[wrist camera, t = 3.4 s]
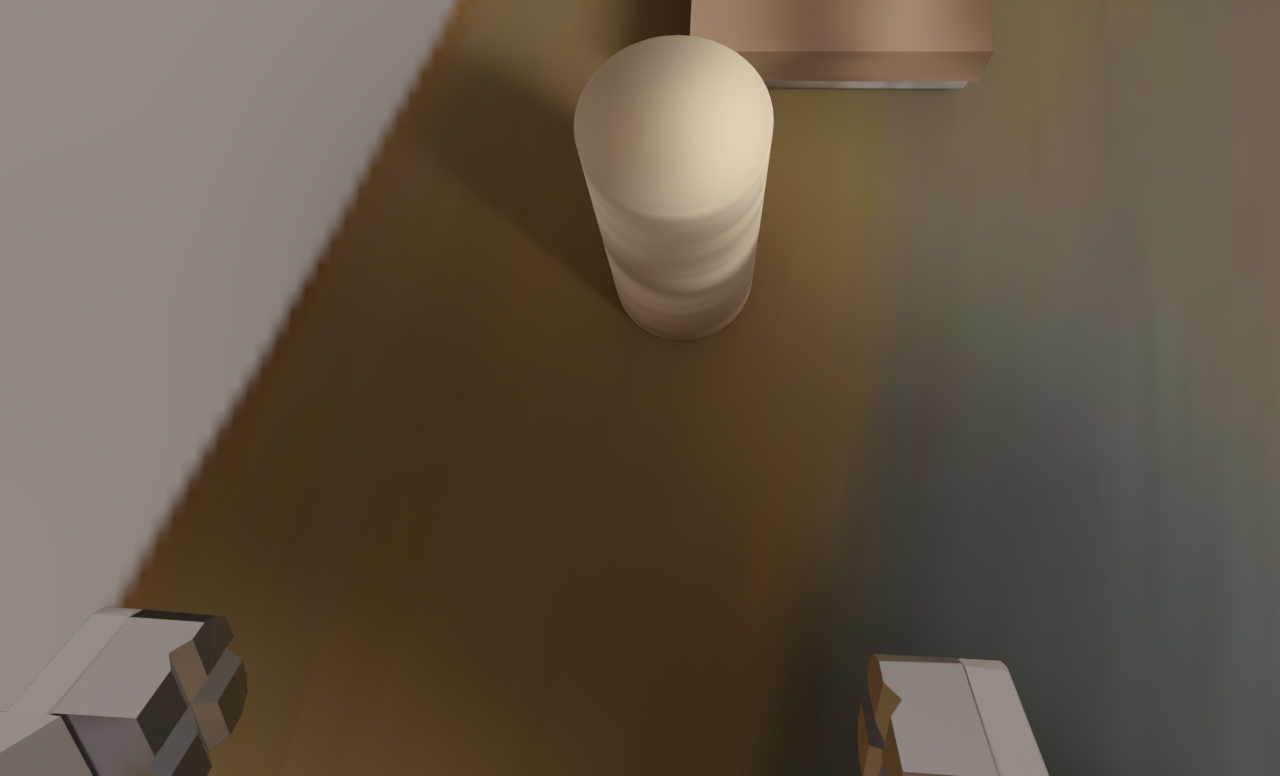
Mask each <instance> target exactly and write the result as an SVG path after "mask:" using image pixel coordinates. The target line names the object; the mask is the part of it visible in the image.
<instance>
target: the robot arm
mask: <svg viewBox="0 0 1280 776" xmlns="http://www.w3.org/2000/svg"><path fill="white" fill-rule="evenodd" d="M233 636H234V635H233V633H232V631H231V628H230V626H229V623H228V621H227V619H226V618H225V617H220V616H215V615H204V614H193V613H181V612H170V611H158V610H147V609H143V610H142V609H129V608H117V607H105V608H103V609H101V610H99V611H97V612H95V613H93V614H92V615H91V616H90V617H89V618H88V619H87V620H86V622H85V623H84V624H83V625H82V626H81V627H80V628H79V630H78V631H77V632H76V633H75V634H74V635H73V636H72V638H71V639H70V640H69V641H68V642H67V643H66V644H65V646H64V647H63V648H62V649H61V650H60V651H59V652H58V654H57V655H56V656H55V657H54V658H53V659H52V660H51V662H50V663H49V664H48V665H47V666H46V667H45V668H44V670H43V671H42V672H41V673H40V674H39V675H38V676H37V678H36V679H35V680H34V681H33V682H32V683H31V684H30V686H29V687H28V688H27V689H26V690H25V691H24V692H23V694H22V695H21V696H20V697H19V698H18V699H17V701H16V702H15V703H14V704H13V705H12V706H11V707H10V708H9V710H8V711H7V712H2V711H1V712H0V776H207V774H208V773H209V771H210V769H211V768H212V766H211V759H210V753H209V750H210V749H212V748H213V747H214V746H216V745H217V744H219V743H220V742H221V741H223V740H224V739H226V738H227V737H229V736H230V735H231V733H232V731H233V729H234V727H235V726H236V724H237V722H238V720H239V718H240V716H241V714H242V711H243V707H244V703H245V699H246V695H247V692H248V690H247V673H246V670H245V667H244V664H243V661H242V660H241V659H240V658H239V657H238V656H236V655H235V654H234V653H233V652H232V651H230V650H229V649H228V648H227V646H228V644H229V643H230V641H231V640H232V638H233ZM866 676H867V681H868V687H869V692H870V694H869V695H867V696H866V697H865V698H863V699H862V700H861V705H860V711H859V718H858V752H859V762H860V769H861V775H862V776H1049V774H1048V771H1047V769H1046V766H1045V764H1044V761H1043V758H1042V756H1041V753H1040V751H1039V748H1038V745H1037V743H1036V740H1035V738H1034V735H1033V732H1032V730H1031V727H1030V725H1029V722H1028V719H1027V717H1026V714H1025V712H1024V709H1023V706H1022V704H1021V701H1020V699H1019V696H1018V693H1017V691H1016V688H1015V686H1014V683H1013V680H1012V678H1011V675H1010V673H1009V670H1008V668H1007V667H1006V666H1005V665H1004V664H1003V663H1002V661H995V660H977V659H955V658H948V657H927V656H906V655H886V654H873V656H872V657H871V659H870V661H869V665H868V670H867V675H866Z"/></svg>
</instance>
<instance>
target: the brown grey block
mask: <svg viewBox="0 0 1280 776" xmlns="http://www.w3.org/2000/svg"><path fill="white" fill-rule="evenodd" d="M690 36H695V37H701V38H705V39H708V40H712V41H715V42H717V43H720V44H722V45H724V46H726V47H728V48H730V49H731V50H733V51H735V52H737V53H738V54H739V55H740V56H742V57H743V58H744V59H746V60H747V61H748V62H749V63H750V64H751V65H752V66H753V67H754V69H755V70H756V71H757V73H758V74H759V75H760V77H761V78H762V80H763V82H764V84H765V85H766V87H767V88H898V89H962V88H964V87H965V85H966V84H967V82H968V81H979V79H980V77H981V76H982V74H983V72H984V70H985V68H986V66H987V64H988V62H989V60H990V58H991V56H992V54H993V52H994V47H993V30H992V12H991V0H692V2H691V22H690Z"/></svg>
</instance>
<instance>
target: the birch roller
mask: <svg viewBox="0 0 1280 776" xmlns="http://www.w3.org/2000/svg"><path fill="white" fill-rule="evenodd" d="M773 124H774V117H773V107H772V102H771V98H770V95H769V92H768V90H767V87H766V85H765V84H764V82H763V80H762V78H761V77H760V75H759V74H758V73H757V71H756V70H755V69H754V67H753V66H752V65H751V64H750V63H749V62H748V61H747V60H746V59H744V58H743V57H742V56H740V55H739V54H738V53H737V52H735V51H733V50H731V49H730V48H728V47H726V46H724V45H722V44H720V43H717V42H715V41H712V40H708V39H705V38H701V37H695V36H686V35H669V36H660V37H655V38H650V39H647V40H643V41H640V42H637V43H635V44H633V45H630V46H628V47H626V48H624V49H623V50H621V51H619V52H617V53H616V54H614V55H613V56H612V57H610V58H609V59H608V60H606V61H605V62H604V63H603V64H602V65H601V66H600V67H599V68H598V69H597V70H596V71H595V73H594V74H593V75H592V76H591V77H590V79H589V80H588V82H587V84H586V85H585V87H584V89H583V91H582V93H581V95H580V97H579V100H578V103H577V107H576V111H575V117H574V136H575V143H576V147H577V150H578V154H579V158H580V161H581V165H582V168H583V172H584V175H585V179H586V182H587V186H588V190H589V193H590V197H591V200H592V204H593V207H594V211H595V215H596V218H597V222H598V225H599V229H600V232H601V236H602V240H603V243H604V247H605V250H606V254H607V257H608V261H609V264H610V268H611V272H612V275H613V279H614V282H615V286H616V289H617V293H618V296H619V300H620V302H621V304H622V306H623V308H624V310H625V311H626V313H627V314H628V315H629V317H630V318H631V319H632V320H633V321H634V322H635V323H636V324H637V325H638V326H640V327H641V328H642V329H644V330H645V331H647V332H649V333H651V334H653V335H655V336H658V337H661V338H664V339H668V340H675V341H691V340H698V339H702V338H705V337H708V336H711V335H713V334H715V333H717V332H719V331H720V330H722V329H724V328H725V327H726V326H728V325H729V324H730V323H731V322H732V321H733V320H734V319H735V318H736V317H737V316H738V315H739V314H740V312H741V311H742V309H743V308H744V306H745V304H746V302H747V300H748V297H749V295H750V291H751V287H752V280H753V273H754V265H755V258H756V251H757V243H758V236H759V229H760V222H761V214H762V207H763V200H764V192H765V185H766V178H767V170H768V163H769V156H770V149H771V141H772V134H773Z"/></svg>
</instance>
